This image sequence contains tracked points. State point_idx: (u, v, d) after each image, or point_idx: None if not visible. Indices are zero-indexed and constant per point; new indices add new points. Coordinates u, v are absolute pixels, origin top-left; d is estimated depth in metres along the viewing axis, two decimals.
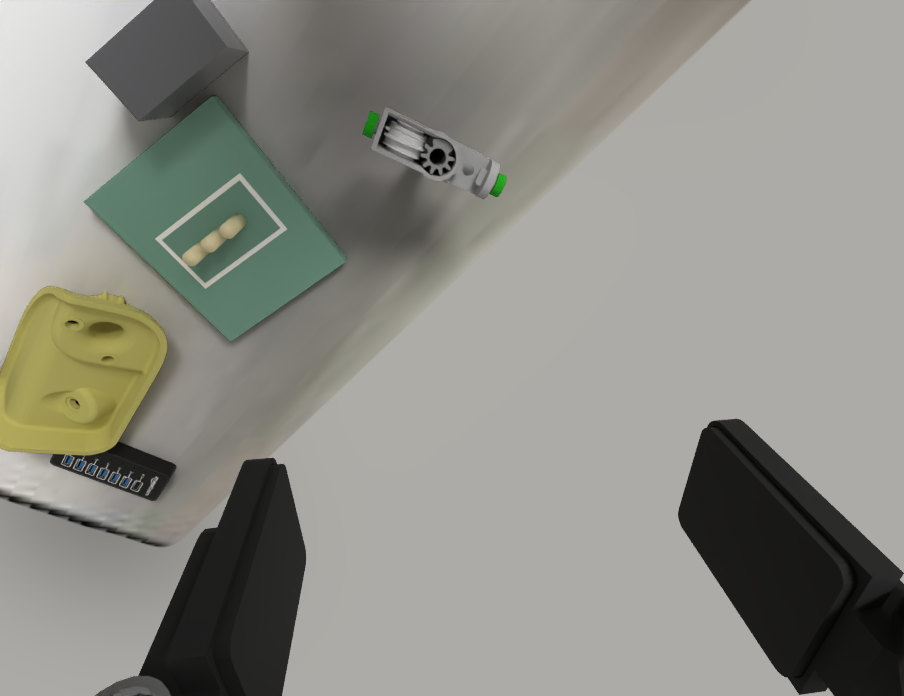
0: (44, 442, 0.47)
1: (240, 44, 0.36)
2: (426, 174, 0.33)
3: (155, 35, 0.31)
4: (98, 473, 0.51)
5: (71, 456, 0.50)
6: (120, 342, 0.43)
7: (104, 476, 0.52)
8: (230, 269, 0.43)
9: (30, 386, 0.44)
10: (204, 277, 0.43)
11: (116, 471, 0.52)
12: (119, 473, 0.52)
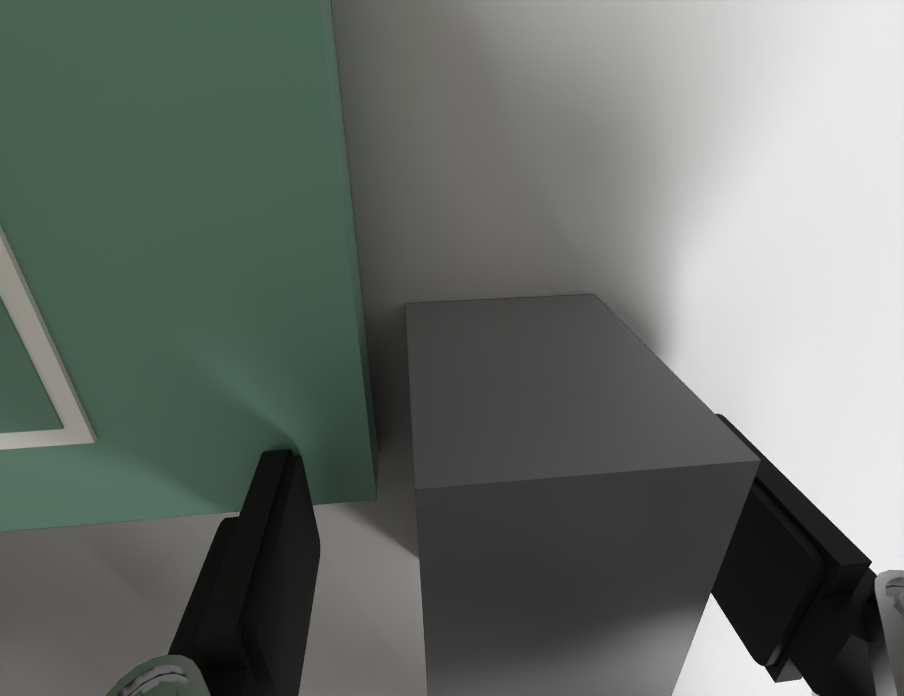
0: None
1: None
2: None
3: (601, 689, 0.08)
4: None
5: None
6: None
7: None
8: None
9: None
10: None
11: None
12: None
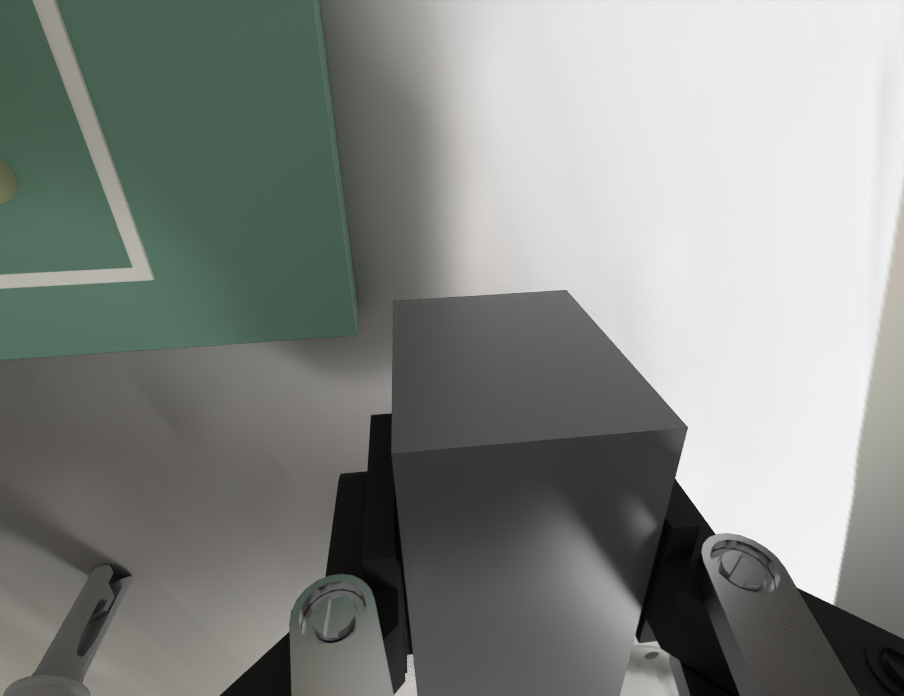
0: None
1: None
2: None
3: (567, 641, 0.09)
4: None
5: None
6: None
7: None
8: None
9: None
10: None
11: None
12: None
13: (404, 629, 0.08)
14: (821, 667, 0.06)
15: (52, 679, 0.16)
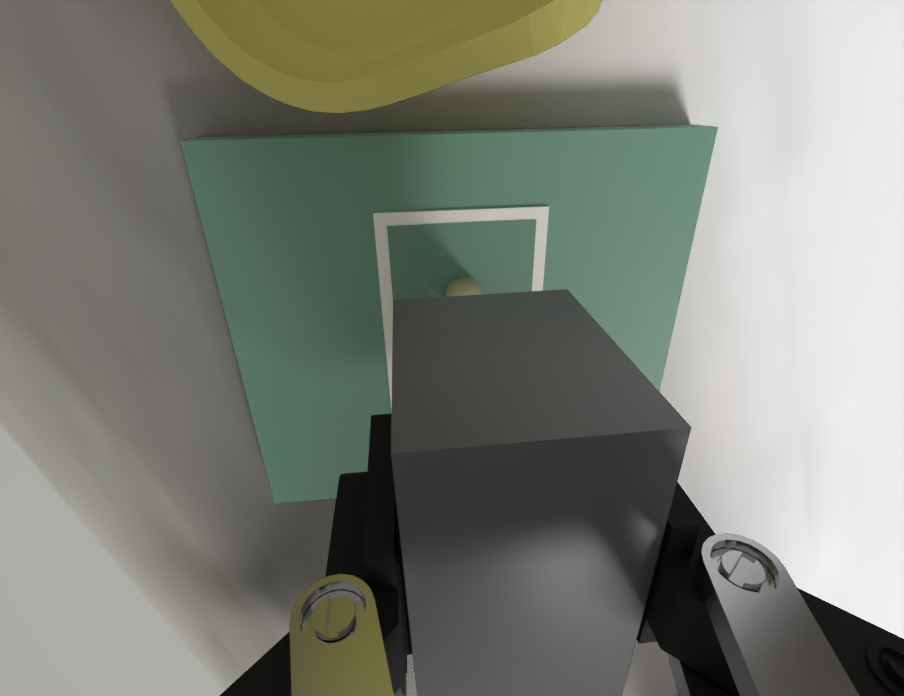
0: None
1: None
2: None
3: (568, 643, 0.09)
4: None
5: None
6: None
7: None
8: (384, 303, 0.16)
9: None
10: (399, 232, 0.15)
11: None
12: None
13: (404, 629, 0.08)
14: (821, 667, 0.06)
15: None
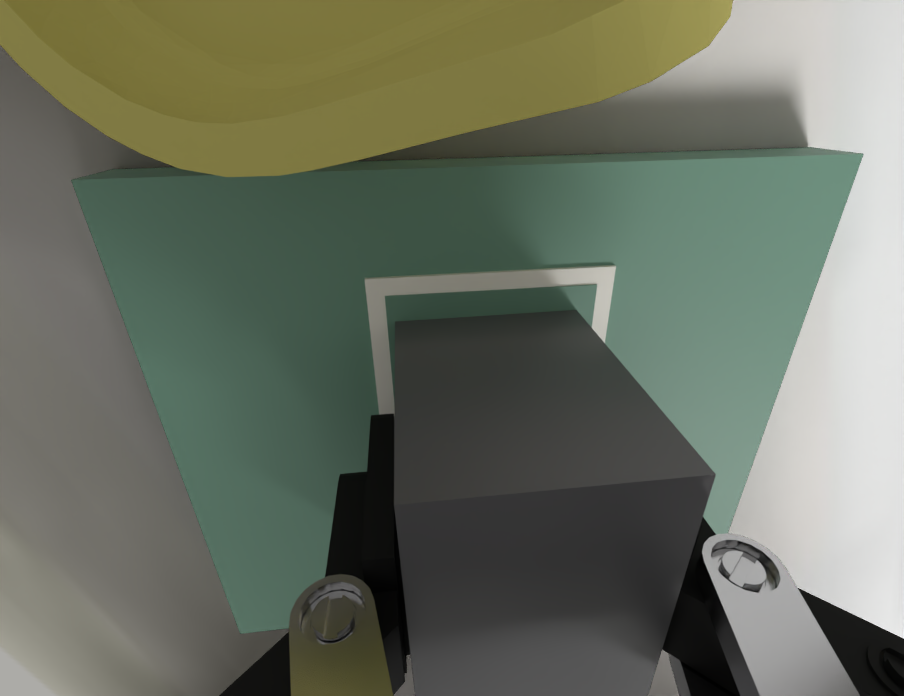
0: None
1: None
2: None
3: (579, 689, 0.08)
4: None
5: None
6: None
7: None
8: (381, 396, 0.12)
9: None
10: (402, 303, 0.11)
11: None
12: None
13: (403, 629, 0.08)
14: (822, 667, 0.06)
15: None
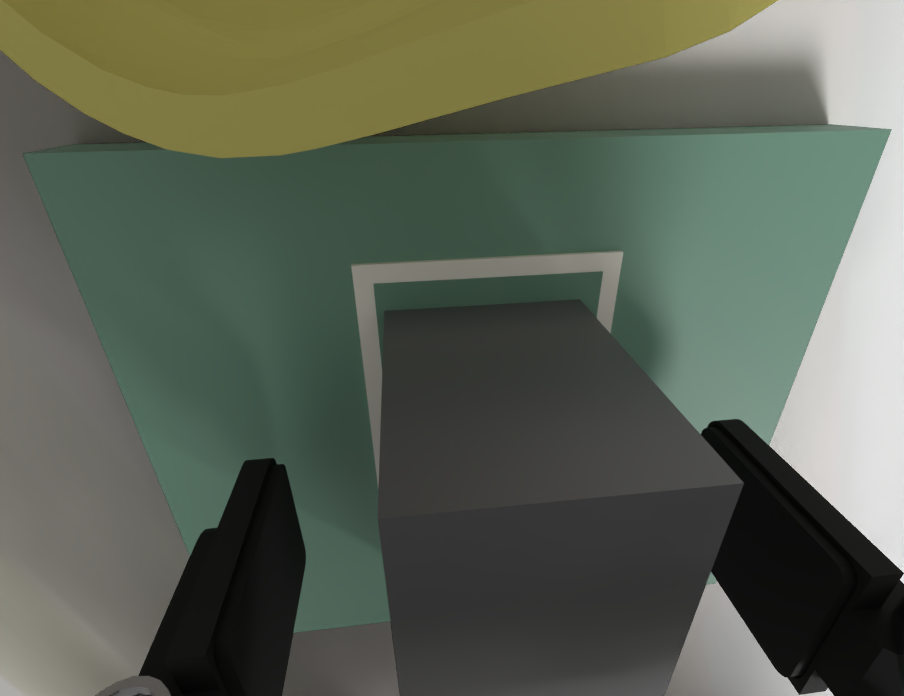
0: None
1: None
2: None
3: None
4: None
5: None
6: None
7: None
8: (370, 392, 0.11)
9: None
10: (393, 292, 0.10)
11: None
12: None
13: None
14: None
15: None
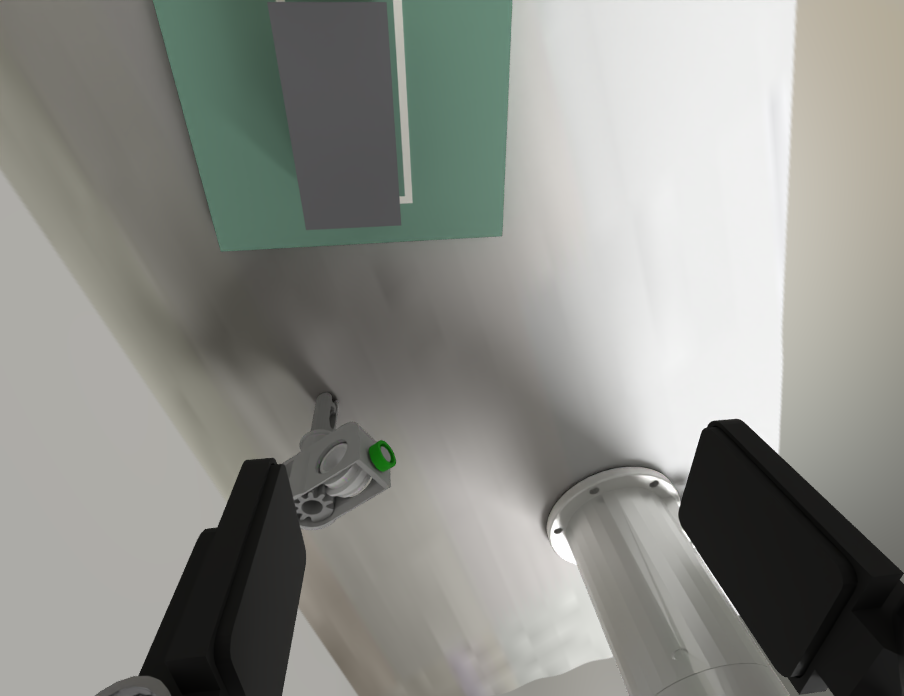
0: None
1: None
2: (299, 496, 0.25)
3: (363, 145, 0.20)
4: None
5: None
6: None
7: None
8: None
9: None
10: None
11: None
12: None
13: None
14: None
15: (328, 431, 0.30)
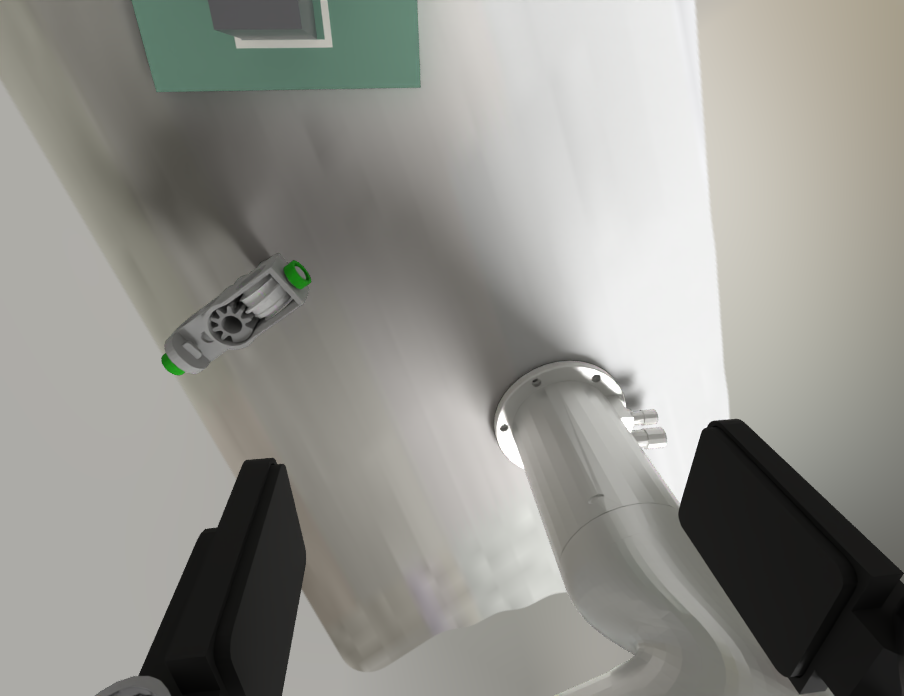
0: None
1: (249, 38, 0.27)
2: (216, 307, 0.27)
3: None
4: None
5: None
6: None
7: None
8: None
9: None
10: None
11: None
12: None
13: None
14: None
15: None
